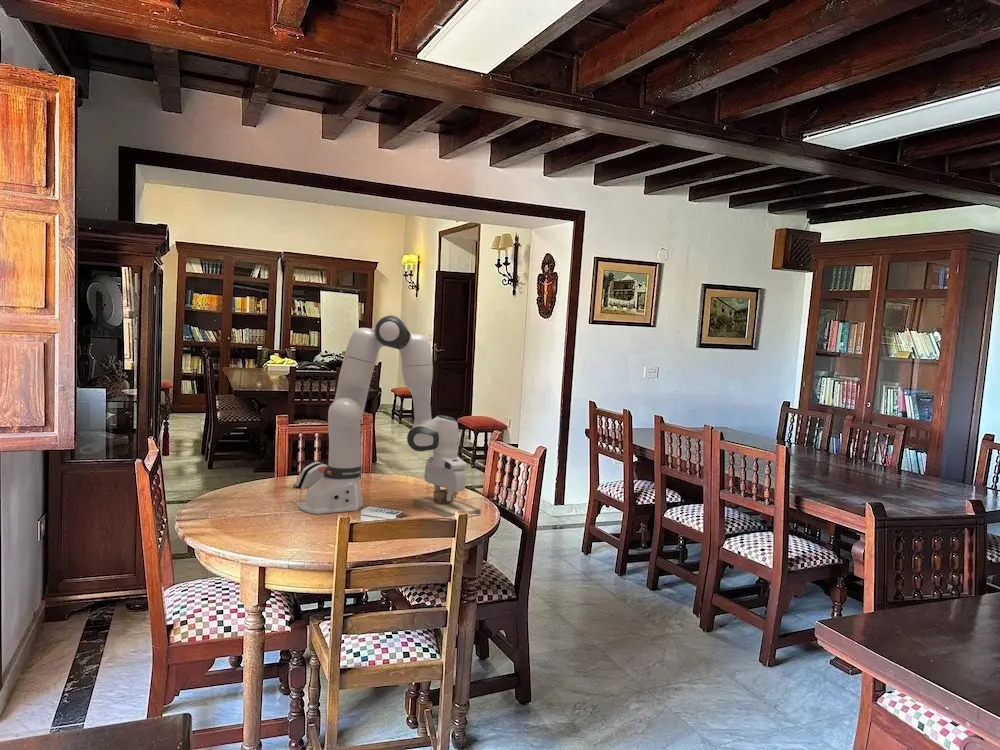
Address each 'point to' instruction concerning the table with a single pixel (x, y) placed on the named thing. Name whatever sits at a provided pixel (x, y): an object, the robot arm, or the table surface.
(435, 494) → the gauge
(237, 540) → the table surface
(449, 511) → the board
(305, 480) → the grey curved piece
